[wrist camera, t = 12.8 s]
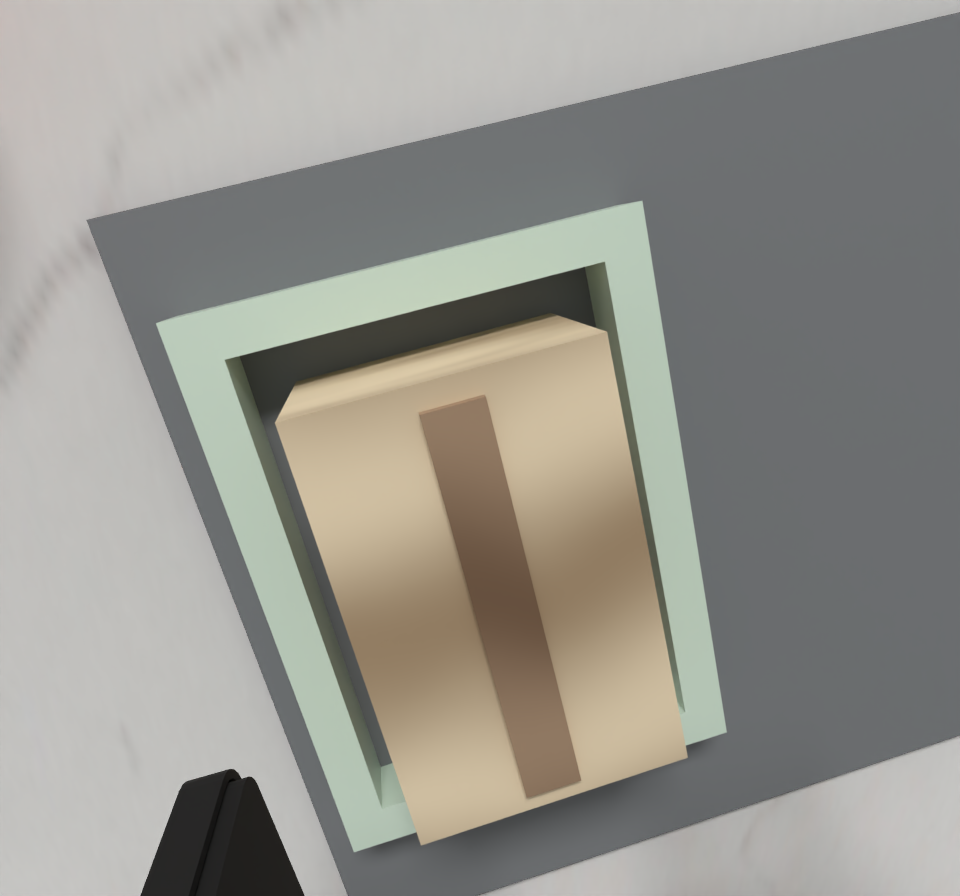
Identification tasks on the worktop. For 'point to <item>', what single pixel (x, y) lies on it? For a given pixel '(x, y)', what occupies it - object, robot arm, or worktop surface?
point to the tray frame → (270, 519)
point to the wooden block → (490, 567)
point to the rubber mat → (696, 390)
